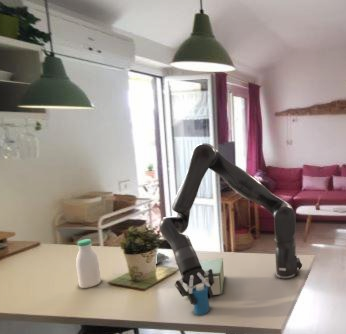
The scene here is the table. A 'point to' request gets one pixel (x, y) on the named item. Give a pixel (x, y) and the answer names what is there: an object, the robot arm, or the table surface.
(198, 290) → the detergent bottle
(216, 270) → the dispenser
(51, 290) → the table surface
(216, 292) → the drawer
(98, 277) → the milk bottle
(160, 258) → the packaged food
